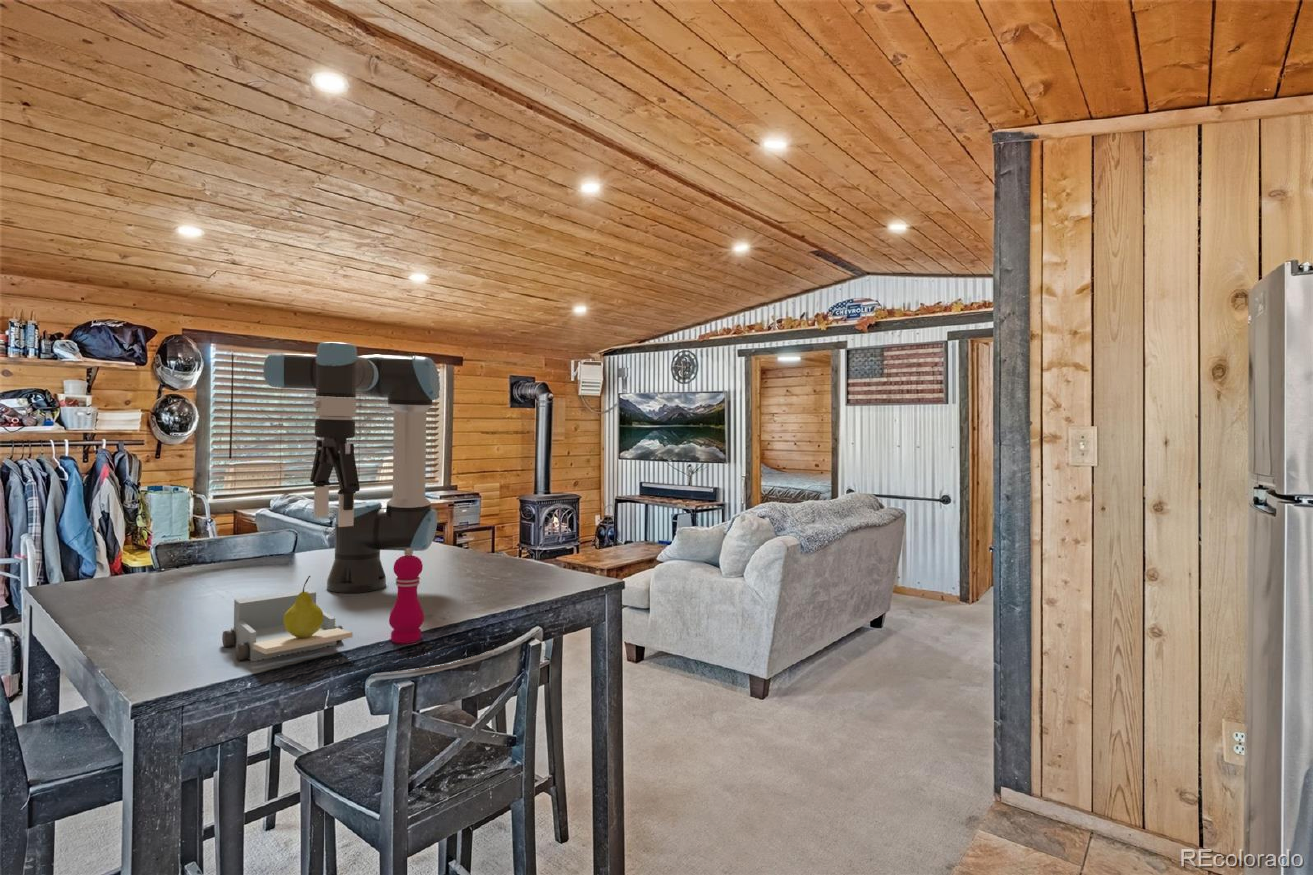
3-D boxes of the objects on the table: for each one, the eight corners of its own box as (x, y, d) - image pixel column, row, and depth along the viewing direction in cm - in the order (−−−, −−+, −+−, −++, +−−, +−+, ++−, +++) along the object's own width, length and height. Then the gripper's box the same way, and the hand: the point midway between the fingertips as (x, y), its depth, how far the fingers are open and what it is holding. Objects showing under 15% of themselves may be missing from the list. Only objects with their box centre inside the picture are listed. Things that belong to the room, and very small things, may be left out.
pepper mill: (394, 633, 156) (396, 544, 156) (427, 634, 157) (429, 545, 156) (384, 644, 149) (386, 551, 148) (418, 644, 150) (421, 552, 149)
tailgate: (252, 643, 136) (265, 648, 130) (337, 627, 147) (352, 632, 141) (252, 649, 136) (265, 655, 130) (337, 633, 147) (352, 638, 141)
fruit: (296, 643, 134) (295, 579, 135) (276, 640, 137) (275, 578, 138) (330, 635, 140) (328, 574, 140) (310, 632, 143) (308, 573, 144)
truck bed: (220, 643, 146) (221, 601, 145) (319, 626, 159) (320, 587, 159) (241, 664, 135) (242, 617, 135) (345, 643, 149) (346, 601, 148)
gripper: (295, 416, 149) (293, 514, 150) (339, 420, 131) (337, 532, 132) (331, 417, 154) (329, 512, 155) (379, 421, 137) (376, 528, 138)
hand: (332, 521), depth 144 cm, fingers open, 13 cm apart
